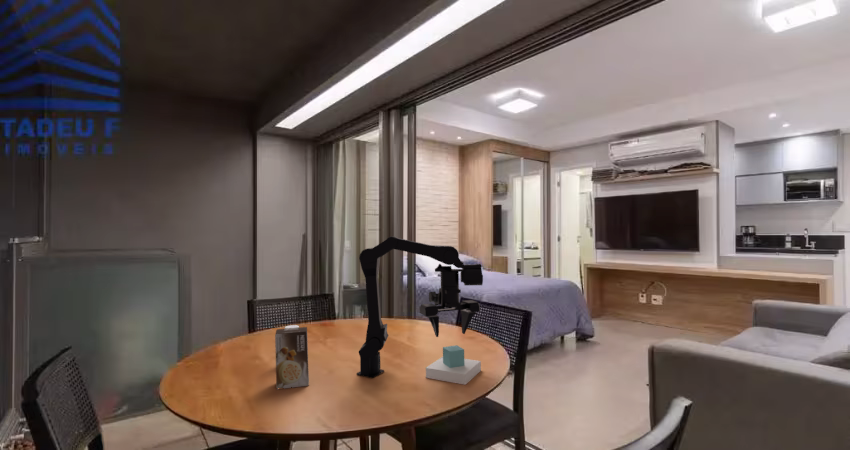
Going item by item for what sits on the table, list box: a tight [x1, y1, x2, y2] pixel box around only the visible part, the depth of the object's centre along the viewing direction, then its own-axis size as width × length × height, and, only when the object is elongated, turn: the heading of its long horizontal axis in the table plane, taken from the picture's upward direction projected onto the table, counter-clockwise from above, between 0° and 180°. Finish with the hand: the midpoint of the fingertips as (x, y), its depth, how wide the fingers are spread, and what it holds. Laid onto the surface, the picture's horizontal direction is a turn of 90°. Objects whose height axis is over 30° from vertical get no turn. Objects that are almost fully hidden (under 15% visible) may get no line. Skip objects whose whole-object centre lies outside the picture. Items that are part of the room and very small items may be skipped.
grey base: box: [425, 356, 482, 385], centre depth 123 cm, size 13×13×3 cm
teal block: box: [442, 345, 465, 368], centre depth 123 cm, size 5×5×5 cm
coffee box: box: [274, 326, 310, 390], centre depth 118 cm, size 9×6×16 cm
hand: (450, 335), depth 125 cm, fingers open, 9 cm apart
